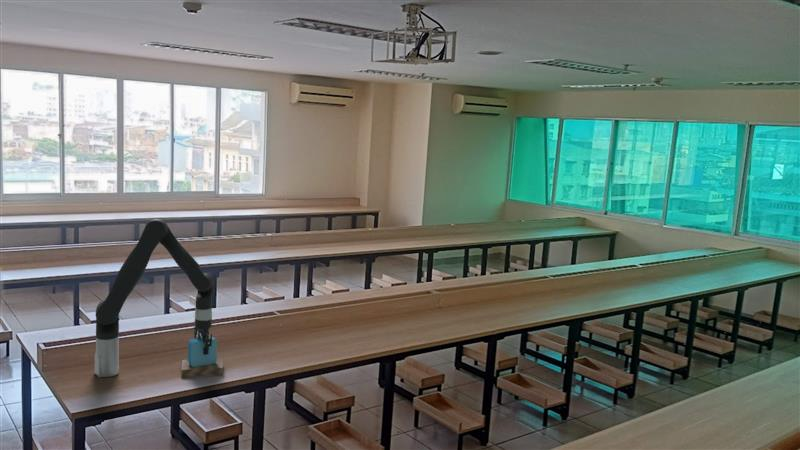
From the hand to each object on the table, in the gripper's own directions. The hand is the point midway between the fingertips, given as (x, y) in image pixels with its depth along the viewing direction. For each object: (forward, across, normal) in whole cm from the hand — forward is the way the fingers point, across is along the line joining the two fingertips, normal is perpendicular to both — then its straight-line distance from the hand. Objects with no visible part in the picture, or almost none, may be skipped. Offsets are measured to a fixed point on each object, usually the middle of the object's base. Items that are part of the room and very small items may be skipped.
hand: (202, 352), depth 299 cm
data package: (+6, 0, 0) cm, 6 cm away
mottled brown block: (+10, 0, 0) cm, 10 cm away
